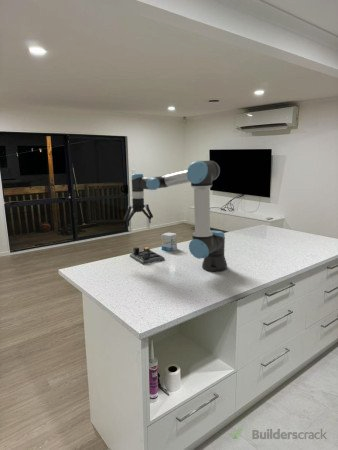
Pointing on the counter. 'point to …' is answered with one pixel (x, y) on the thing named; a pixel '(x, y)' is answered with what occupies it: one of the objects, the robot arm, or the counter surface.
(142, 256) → the panel
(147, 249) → the handle
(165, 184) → the robot arm
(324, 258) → the counter surface
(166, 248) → the ink box
